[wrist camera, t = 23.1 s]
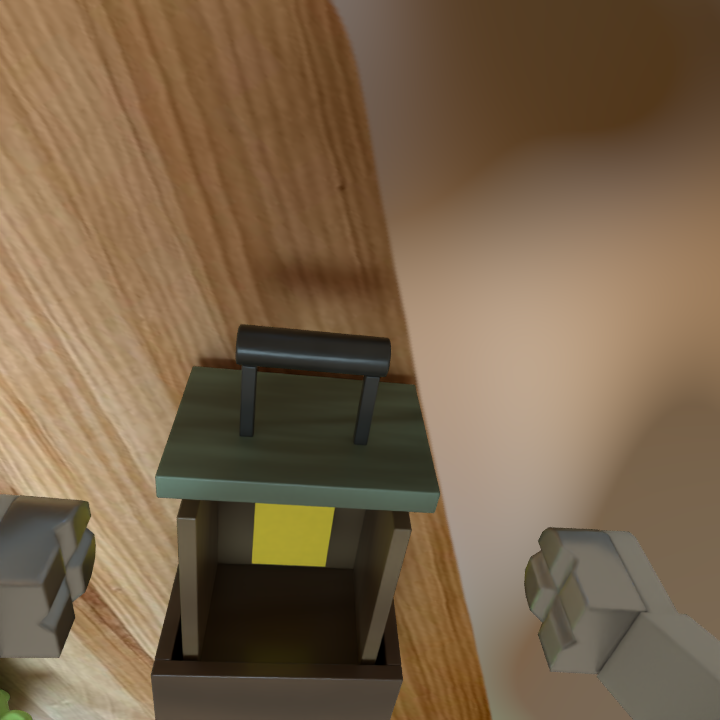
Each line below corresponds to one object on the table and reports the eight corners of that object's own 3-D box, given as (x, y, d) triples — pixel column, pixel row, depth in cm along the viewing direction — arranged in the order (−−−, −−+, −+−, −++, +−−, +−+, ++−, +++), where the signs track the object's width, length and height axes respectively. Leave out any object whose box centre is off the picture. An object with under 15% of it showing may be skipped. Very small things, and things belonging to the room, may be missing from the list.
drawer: (190, 267, 26) (146, 362, 19) (436, 293, 27) (472, 389, 21) (196, 555, 36) (168, 679, 30) (373, 563, 38) (384, 683, 31)
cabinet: (188, 522, 36) (150, 675, 28) (385, 532, 38) (403, 680, 30) (192, 660, 44) (163, 810, 36) (354, 664, 46) (361, 808, 38)
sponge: (261, 442, 30) (256, 483, 28) (337, 447, 31) (338, 488, 28) (256, 520, 34) (251, 563, 31) (325, 524, 34) (325, 567, 31)
